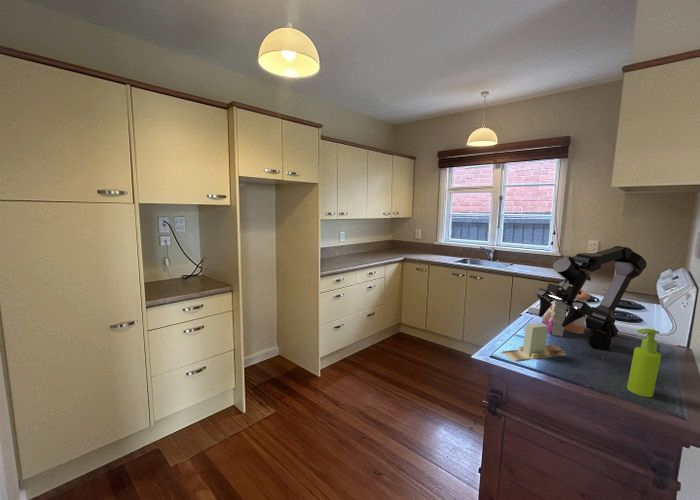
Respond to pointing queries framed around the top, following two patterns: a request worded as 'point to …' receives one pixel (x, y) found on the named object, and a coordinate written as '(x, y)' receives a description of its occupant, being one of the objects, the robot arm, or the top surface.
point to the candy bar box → (555, 318)
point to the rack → (520, 356)
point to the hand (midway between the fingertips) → (550, 321)
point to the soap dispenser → (644, 365)
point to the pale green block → (535, 338)
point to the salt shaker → (579, 324)
